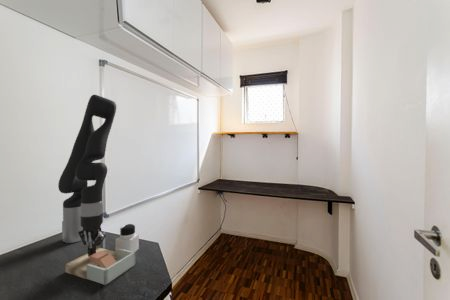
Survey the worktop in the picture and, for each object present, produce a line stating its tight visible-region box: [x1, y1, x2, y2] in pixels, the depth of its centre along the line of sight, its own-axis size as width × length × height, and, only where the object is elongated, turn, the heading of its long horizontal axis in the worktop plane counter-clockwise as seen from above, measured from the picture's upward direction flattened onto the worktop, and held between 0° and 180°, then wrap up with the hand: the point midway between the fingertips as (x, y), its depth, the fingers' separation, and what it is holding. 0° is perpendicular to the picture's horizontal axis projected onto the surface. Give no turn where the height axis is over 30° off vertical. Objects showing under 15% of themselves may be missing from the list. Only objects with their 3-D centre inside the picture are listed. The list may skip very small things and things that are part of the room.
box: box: [85, 248, 136, 286], centre depth 80 cm, size 9×14×5 cm
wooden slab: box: [64, 247, 116, 280], centre depth 83 cm, size 11×14×3 cm
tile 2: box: [98, 254, 116, 269], centre depth 81 cm, size 4×4×2 cm
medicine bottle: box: [115, 223, 140, 253], centre depth 94 cm, size 7×7×12 cm
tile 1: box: [89, 251, 108, 264], centre depth 82 cm, size 4×4×2 cm
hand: (91, 255), depth 84 cm, fingers closed
